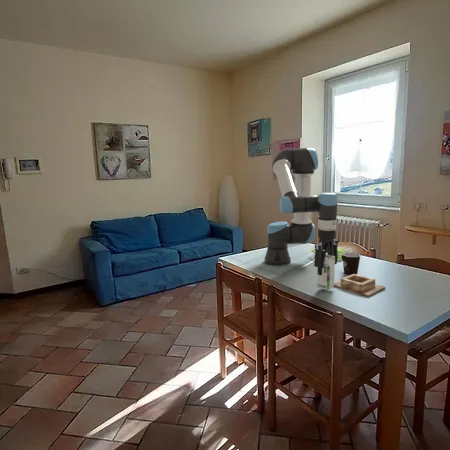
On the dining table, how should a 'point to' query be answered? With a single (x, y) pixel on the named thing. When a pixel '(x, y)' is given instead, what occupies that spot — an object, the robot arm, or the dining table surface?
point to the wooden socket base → (359, 285)
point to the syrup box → (327, 273)
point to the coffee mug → (350, 263)
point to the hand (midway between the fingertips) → (325, 279)
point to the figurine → (338, 252)
